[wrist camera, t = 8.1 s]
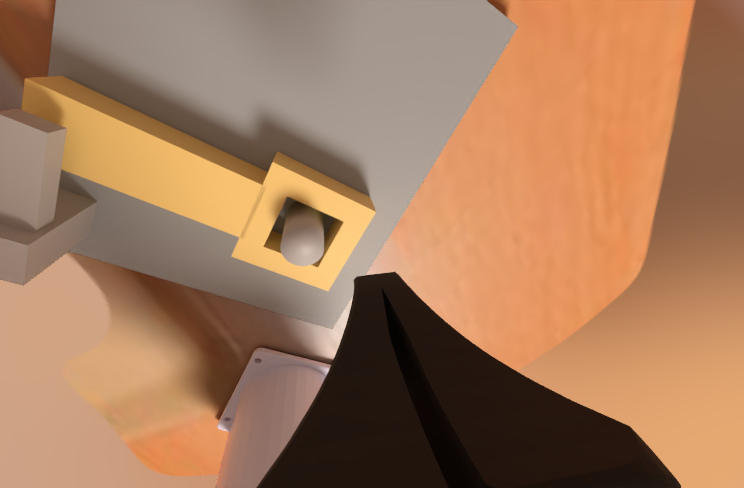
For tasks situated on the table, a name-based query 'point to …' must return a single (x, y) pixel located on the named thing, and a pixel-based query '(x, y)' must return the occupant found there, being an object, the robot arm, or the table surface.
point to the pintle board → (248, 128)
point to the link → (198, 177)
